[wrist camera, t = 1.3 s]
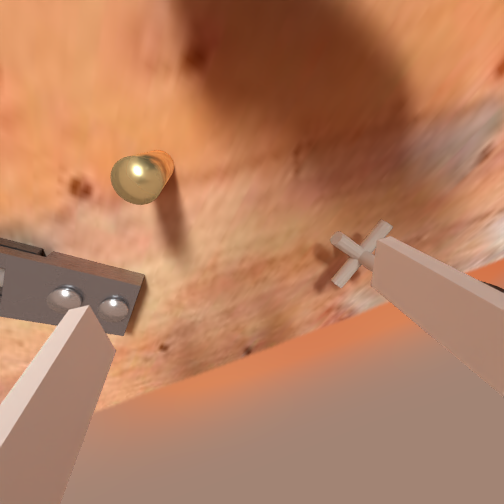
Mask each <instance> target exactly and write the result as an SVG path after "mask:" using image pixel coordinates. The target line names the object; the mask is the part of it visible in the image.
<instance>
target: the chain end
mask: <svg viewBox="0 0 504 504" xmlns="http://www.w3.org/2000/svg"><path fill="white" fill-rule="evenodd" d="M0 268H5V274H4V282H3V290H2V296H0V317H7V318H13V319H19V320H26V321H32V322H38V323H45V324H51V325H57V326H58V324H59V323H60V321H61V320H62V319H63V317H64V316H65V315H66V313H67V312H68V310H70V309H74V308H78V307H83V306H87V305H90V307H91V309H92V311H93V312H94V314H95V316H96V317H97V319H98V321H99V323H100V324H101V326H102V328H103V329H104V331H105V333H108V334H114V335H121V336H124V333H125V331H126V328H127V325H128V322H129V319H130V316H131V313H132V310H133V308H134V305H135V302H136V299H137V296H138V293H139V290H140V287H141V284H142V281H143V278H144V276H145V275H144V274H140V273H136V272H132V271H128V270H124V269H120V268H116V267H112V266H108V265H104V264H101V263H97V262H93V261H89V260H85V259H81V258H77V257H73V256H69V255H65V254H61V253H58V252H54V251H53V252H52V253H51V254H49V255H48V256H47V257H44V256H40V255H35V254H31V253H27V252H23V251H19V250H15V249H11V248H7V247H3V246H0Z"/></svg>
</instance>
